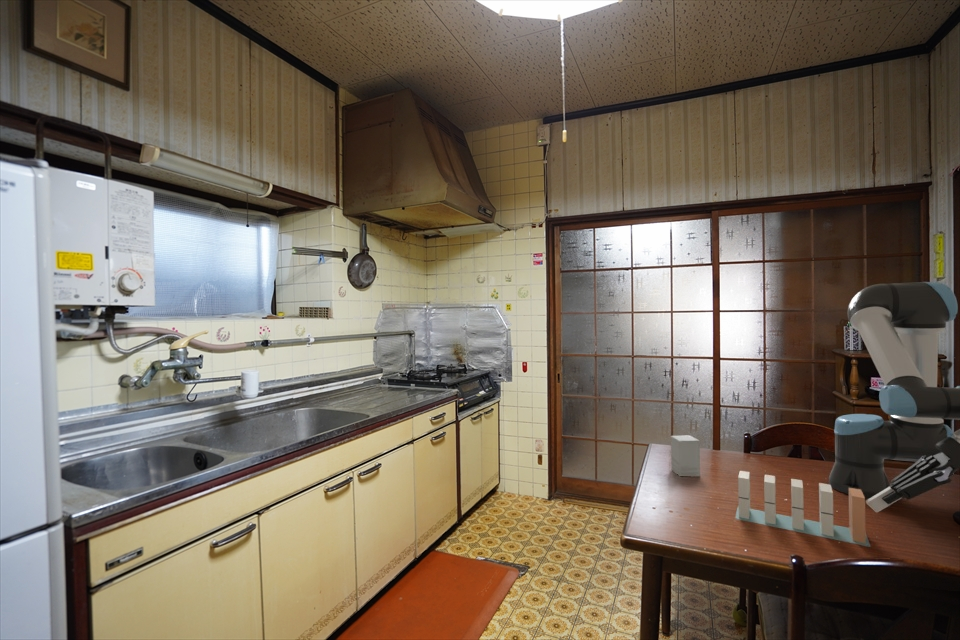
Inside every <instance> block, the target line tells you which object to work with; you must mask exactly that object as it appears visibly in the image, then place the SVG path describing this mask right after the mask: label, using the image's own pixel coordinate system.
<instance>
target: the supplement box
mask: <svg viewBox="0 0 960 640" xmlns="http://www.w3.org/2000/svg"><path fill="white" fill-rule="evenodd" d="M700 444H701V443H700V440H699V439H697V438H696V437H693V436H692V435H690V434H689V435H686V434H685V435H683V434H682V435H670V461H671V462H670V463H671V467H670V469H671V471H672V470H673V471H672V472H674V473H675V474H676V475H677V474H678V475H677V476H679V477H680V476H691V477H700V476H701V456H700V453H701V450H700V449H701V448H700Z"/></svg>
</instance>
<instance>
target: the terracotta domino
mask: <svg viewBox="0 0 960 640" xmlns="http://www.w3.org/2000/svg"><path fill="white" fill-rule="evenodd" d="M865 501H866V498H865V497H864V495H863V493H862V491H861V489H854V488H849V494H848V528H849V531H850V534H851V537H852V540H853V541H856V542H861V543H866V536H867V534H865V533H866V502H865Z"/></svg>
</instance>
